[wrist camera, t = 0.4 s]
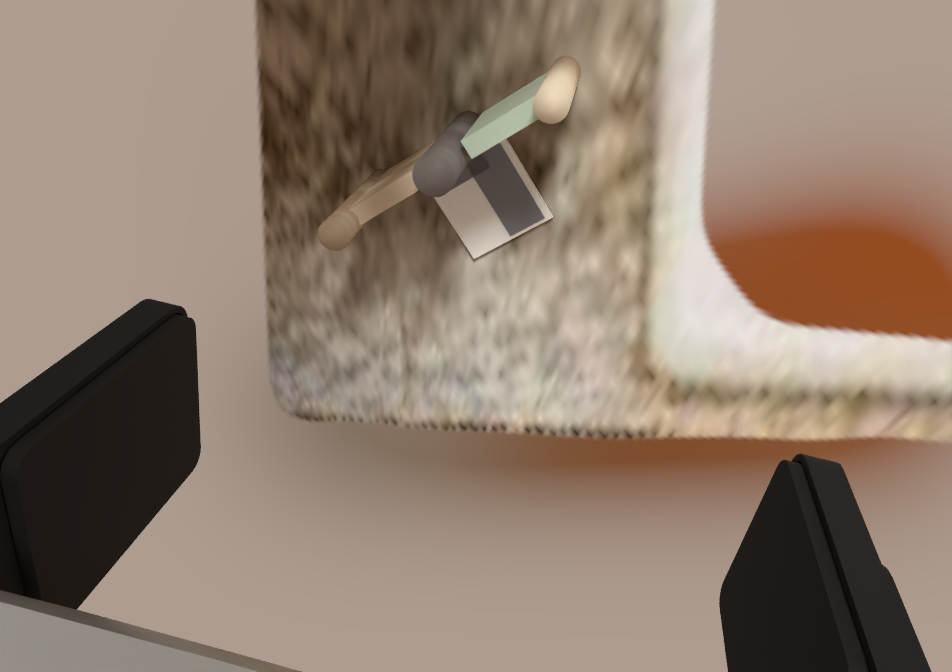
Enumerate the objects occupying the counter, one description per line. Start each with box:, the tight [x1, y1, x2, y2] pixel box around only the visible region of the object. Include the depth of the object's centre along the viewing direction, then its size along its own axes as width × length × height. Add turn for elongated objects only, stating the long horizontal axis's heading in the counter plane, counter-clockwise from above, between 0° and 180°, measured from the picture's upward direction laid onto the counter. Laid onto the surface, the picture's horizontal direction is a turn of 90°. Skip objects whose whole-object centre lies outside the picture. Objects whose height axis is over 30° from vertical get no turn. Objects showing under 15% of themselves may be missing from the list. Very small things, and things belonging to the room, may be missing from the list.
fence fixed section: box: [318, 111, 480, 251], centre depth 39 cm, size 8×2×9 cm, turn 122°
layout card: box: [434, 138, 553, 259], centre depth 43 cm, size 6×6×1 cm
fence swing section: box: [461, 56, 581, 159], centre depth 36 cm, size 6×2×8 cm, turn 122°
